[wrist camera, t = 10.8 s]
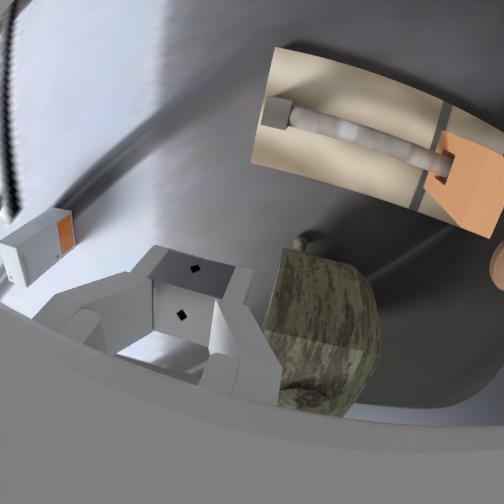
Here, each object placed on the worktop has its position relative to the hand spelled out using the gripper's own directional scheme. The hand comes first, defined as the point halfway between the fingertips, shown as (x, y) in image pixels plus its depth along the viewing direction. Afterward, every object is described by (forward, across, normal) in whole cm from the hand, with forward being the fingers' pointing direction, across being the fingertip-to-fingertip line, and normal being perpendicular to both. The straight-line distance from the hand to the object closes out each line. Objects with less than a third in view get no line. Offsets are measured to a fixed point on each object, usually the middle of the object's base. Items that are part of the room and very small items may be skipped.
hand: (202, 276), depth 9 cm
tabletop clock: (+26, -7, +16) cm, 31 cm away
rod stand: (+26, -11, -3) cm, 28 cm away
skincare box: (+26, +29, +18) cm, 42 cm away
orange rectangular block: (+22, -16, -3) cm, 27 cm away
